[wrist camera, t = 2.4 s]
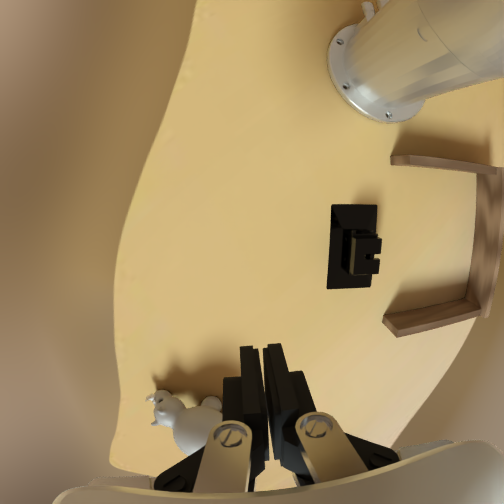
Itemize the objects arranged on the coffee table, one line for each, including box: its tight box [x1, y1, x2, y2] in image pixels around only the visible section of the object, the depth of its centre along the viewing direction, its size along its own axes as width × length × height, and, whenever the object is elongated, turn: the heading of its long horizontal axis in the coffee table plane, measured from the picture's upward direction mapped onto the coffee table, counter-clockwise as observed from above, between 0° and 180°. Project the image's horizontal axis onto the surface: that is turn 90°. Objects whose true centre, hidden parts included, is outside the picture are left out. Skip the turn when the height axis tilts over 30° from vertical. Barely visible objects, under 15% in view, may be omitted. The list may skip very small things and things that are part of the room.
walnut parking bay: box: [382, 155, 504, 338], centre depth 29 cm, size 20×16×5 cm
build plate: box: [327, 204, 382, 289], centre depth 29 cm, size 12×7×5 cm, turn 1°
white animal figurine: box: [145, 390, 222, 456], centre depth 31 cm, size 7×12×8 cm, turn 64°
